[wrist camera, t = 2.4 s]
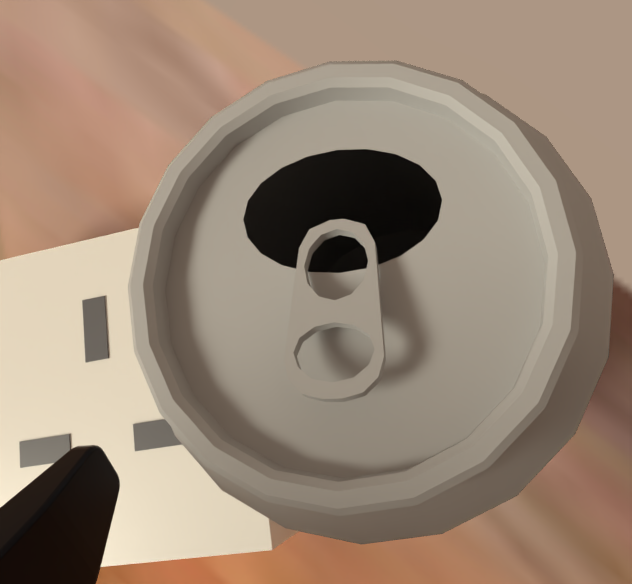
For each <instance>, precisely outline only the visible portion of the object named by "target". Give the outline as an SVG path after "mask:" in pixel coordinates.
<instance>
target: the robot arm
mask: <svg viewBox="0 0 632 584" xmlns="http://www.w3.org/2000/svg"><path fill="white" fill-rule="evenodd" d="M119 489H120V480H119V476H118V474H117V472H116V471H115V469H114V467H113V466H112V464H111V462H110V461H109V459H108V457H107V456H106V454H105V452H104V451H103V449H102V448H101V447H99V446H97V445H85V446H76V447H74V448H72V449H71V450H69V451H68V452H67V453H66V454H65V455H63V456H62V457H61V458H60V459H58V460H57V461H56V462H55V463H54V464H52V465H51V466H50V467H49V468H48V469H46V470H45V471H44V472H43V473H42V474H40V475H39V476H38V477H37V478H35V479H34V480H33V481H32V482H31V483H29V484H28V485H27V486H26V487H25V488H23V489H22V490H21V491H20V492H18V493H17V494H16V495H15V496H14V497H12V498H11V499H10V500H9V501H8V502H6V503H5V504H4V505H3V506H2V507H0V584H96V581H97V578H98V574H99V571H100V567H101V563H102V559H103V555H104V551H105V547H106V543H107V539H108V535H109V531H110V527H111V523H112V519H113V515H114V511H115V506H116V502H117V498H118V494H119Z"/></svg>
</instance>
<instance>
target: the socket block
mask: <svg viewBox="0 0 632 584" xmlns="http://www.w3.org/2000/svg"><path fill="white" fill-rule="evenodd" d="M138 230H139V228H135V229H131V230H127V231H123V232H118V233H114V234H110V235H106V236H101V237H97V238H93V239H89V240H84V241H80V242H76V243H72V244H67V245H63V246H59V247H55V248H51V249H46V250H42V251H38V252H34V253H29V254H25V255H21V256H17V257H12V258H8V259H4V260H0V507H2V506H3V505H4V504H5V503H6V502H8V501H9V500H10V499H11V498H12V497H14V496H15V495H16V494H17V493H18V492H20V491H21V490H22V489H23V488H25V487H26V486H27V485H28V484H29V483H31V482H32V481H33V480H34V479H35V478H37V477H38V476H39V475H40V474H42V473H43V472H44V471H45V470H46V469H48V468H49V467H50V466H51V465H52V464H54V463H55V462H56V461H57V460H58V459H60V458H61V457H62V456H63V455H65V454H66V453H67V452H68V451H69V450H71V449H72V448H74V447H76V446H85V445H97V446H99V447H101V448H102V449H103V451H104V452H105V454H106V456H107V457H108V459H109V461H110V462H111V464H112V466H113V467H114V469H115V471H116V472H117V474H118V476H119V480H120V489H119V494H118V498H117V502H116V506H115V511H114V515H113V519H112V523H111V527H110V531H109V535H108V539H107V543H106V547H105V551H104V555H103V559H102V563H101V567H105V566H115V565H125V564H135V563H145V562H155V561H166V560H176V559H186V558H196V557H206V556H217V555H227V554H237V553H247V552H257V551H267V550H273V549H274V548H276V547H277V546H279V545H280V544H281V543H283V542H284V541H286V540H287V539H289V538H290V537H291V536H293V535H294V534H296V533H297V532H298V531H296V530H291V529H286V528H284V527H282V526H281V525H279V524H277V523H276V522H274V521H272V520H271V519H269V518H267V517H266V516H264V515H262V514H261V513H259V512H257V511H256V510H254V509H252V508H251V507H249V506H247V505H246V504H244V503H242V502H241V501H239V500H237V499H236V498H234V497H232V496H231V495H229V494H227V493H226V492H224V491H222V490H221V489H220V488H219V487H218V485H217V484H216V483H215V482H214V481H213V480H212V478H211V477H210V476H209V475H208V474H207V473H206V471H205V470H204V469H203V468H202V467H201V466H200V464H199V463H198V462H197V461H196V460H195V459H194V457H193V456H192V455H191V454H190V453H189V452H188V450H187V449H186V448H185V447H184V446H183V445H182V443H181V442H180V441H179V440H178V439H177V438H176V436H175V435H174V432H173V430H172V427H171V426H170V425H169V424H168V422H167V421H166V420H165V419H164V418H163V417H162V415H161V414H160V413H159V410H158V408H157V406H156V403H155V401H154V398H153V396H152V394H151V391H150V389H149V387H148V384H147V382H146V379H145V377H144V375H143V372H142V370H141V367H140V365H139V363H138V360H137V358H136V356H135V353H134V346H133V336H132V326H131V316H130V306H129V295H128V283H129V277H130V272H131V267H132V261H133V256H134V251H135V246H136V240H137V235H138Z"/></svg>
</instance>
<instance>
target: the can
mask: <svg viewBox="0 0 632 584" xmlns="http://www.w3.org/2000/svg"><path fill="white" fill-rule="evenodd" d="M613 278H614V274H613V271H612V267H611V264H610V261H609V257H608V254H607V250H606V247H605V243H604V240H603V237H602V233H601V230H600V227H599V224H598V220H597V216H596V213H595V210H594V206H593V203H592V200H591V198H590V196H589V195H588V193H587V192H586V191H585V189H584V188H583V187H582V185H581V184H580V182H579V181H578V180H577V178H576V177H575V176H574V174H573V173H572V171H571V170H570V169H569V167H568V166H567V165H566V163H565V162H564V160H563V159H562V158H561V156H560V155H559V154H558V152H557V151H556V149H555V148H554V147H553V145H552V144H551V143H550V142H549V140H548V138H547V137H546V136H544V135H543V134H541V133H540V132H539V131H537V130H536V129H534V128H533V127H531V126H530V125H529V124H527V123H526V122H524V121H523V120H521V119H520V118H519V117H517V116H516V115H514V114H513V113H511V112H510V111H509V110H507V109H505V108H504V107H503V106H501V105H500V104H499V103H497V102H496V101H494V100H493V99H491V98H490V97H489V96H487V95H485V94H482V93H480V92H478V91H477V90H476V89H474V88H473V87H471V86H470V85H468V84H467V83H466V82H464V81H463V80H460V79H456V78H453V77H450V76H446V75H443V74H439V73H436V72H433V71H430V70H426V69H423V68H419V67H416V66H413V65H409V64H406V63H402V62H399V61H348V62H345V61H342V62H327V63H324V64H321V65H317V66H314V67H311V68H308V69H304V70H301V71H298V72H295V73H292V74H288V75H285V76H282V77H279V78H275V79H272V80H269V81H266V82H265V83H263V84H261V85H260V86H258V87H257V88H255V89H254V90H252V91H251V92H249V93H248V94H246V95H245V96H243V97H241V98H240V99H238V100H237V101H235V102H234V103H232V104H231V105H229V106H228V107H226V108H224V109H223V110H221V111H220V112H218V113H217V114H215V115H214V116H212V117H211V118H210V119H209V120H208V121H207V123H206V124H205V125H204V126H203V127H202V128H201V129H200V130H199V132H198V133H197V134H196V135H195V136H194V137H193V138H192V139H191V141H190V142H189V143H188V144H187V145H186V146H185V147H184V148H183V150H182V151H181V152H180V153H179V154H178V155H177V156H176V157H175V159H174V160H173V161H172V162H171V163H170V164H169V165H168V167H167V169H166V171H165V173H164V175H163V177H162V179H161V181H160V183H159V185H158V187H157V189H156V191H155V193H154V195H153V197H152V199H151V202H150V204H149V206H148V208H147V210H146V212H145V214H144V216H143V218H142V220H141V222H140V224H139V230H138V235H137V240H136V246H135V251H134V256H133V261H132V267H131V272H130V277H129V283H128V295H129V306H130V316H131V326H132V336H133V346H134V353H135V356H136V358H137V360H138V363H139V365H140V367H141V370H142V372H143V375H144V377H145V379H146V382H147V384H148V387H149V389H150V391H151V394H152V396H153V398H154V401H155V403H156V406H157V408H158V410H159V413H160V414H161V415H162V417H163V418H164V419H165V420H166V421H167V422H168V424H169V425H170V426H171V427H172V430H173V432H174V435H175V436H176V438H177V439H178V440H179V441H180V442H181V443H182V445H183V446H184V447H185V448H186V449H187V450H188V452H189V453H190V454H191V455H192V456H193V457H194V459H195V460H196V461H197V462H198V463H199V464H200V466H201V467H202V468H203V469H204V470H205V471H206V473H207V474H208V475H209V476H210V477H211V478H212V480H213V481H214V482H215V483H216V484H217V485H218V487H219V488H220V489H221V490H222V491H224V492H226V493H227V494H229V495H231V496H232V497H234V498H236V499H237V500H239V501H241V502H242V503H244V504H246V505H247V506H249V507H251V508H252V509H254V510H256V511H257V512H259V513H261V514H262V515H264V516H266V517H267V518H269V519H271V520H272V521H274V522H276V523H277V524H279V525H281V526H282V527H284V528H286V529H291V530H296V531H301V532H305V533H310V534H315V535H320V536H324V537H329V538H334V539H339V540H343V541H348V542H353V543H358V544H368V543H375V542H383V541H391V540H398V539H406V538H414V537H421V536H429V535H437V534H443V533H445V532H447V531H449V530H451V529H452V528H454V527H456V526H458V525H460V524H462V523H464V522H466V521H468V520H470V519H472V518H474V517H476V516H478V515H480V514H482V513H484V512H486V511H488V510H490V509H492V508H494V507H496V506H498V505H500V504H502V503H504V502H506V501H508V500H510V499H512V498H513V497H515V496H517V495H518V494H519V493H520V492H521V491H522V490H523V489H524V488H525V487H526V485H527V484H528V483H529V482H530V481H531V480H532V479H533V478H534V477H535V476H536V475H537V474H538V473H539V472H540V471H541V470H542V469H543V467H544V466H545V465H546V464H547V463H548V462H549V461H550V460H551V459H552V458H553V457H554V456H555V455H556V454H557V453H558V452H559V451H560V449H561V448H562V447H563V446H564V445H565V444H566V443H567V442H568V441H569V440H570V439H571V438H572V437H573V436H574V435H575V433H576V431H577V428H578V426H579V424H580V421H581V419H582V417H583V415H584V412H585V410H586V408H587V405H588V403H589V401H590V398H591V396H592V394H593V392H594V389H595V387H596V385H597V382H598V380H599V378H600V376H601V373H602V371H603V369H604V366H605V364H606V362H607V359H608V357H609V342H610V326H611V310H612V294H613Z"/></svg>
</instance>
